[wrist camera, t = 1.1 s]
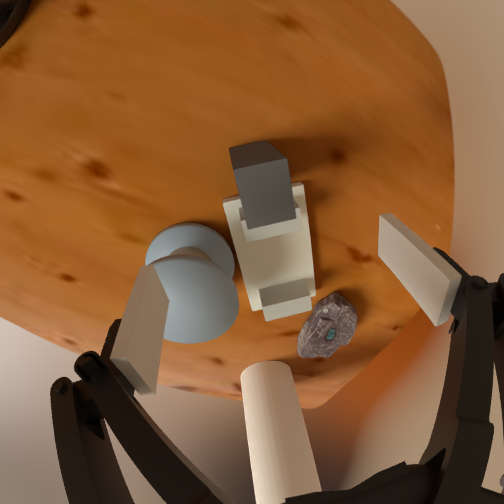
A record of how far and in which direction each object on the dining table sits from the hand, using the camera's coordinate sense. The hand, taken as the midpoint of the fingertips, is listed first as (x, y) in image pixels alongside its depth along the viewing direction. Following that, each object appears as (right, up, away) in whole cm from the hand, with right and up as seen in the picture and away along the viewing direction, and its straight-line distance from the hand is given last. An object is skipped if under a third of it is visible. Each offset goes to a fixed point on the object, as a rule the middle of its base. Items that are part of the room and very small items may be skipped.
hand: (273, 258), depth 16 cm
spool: (-9, -1, +19) cm, 21 cm away
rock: (+10, -10, +28) cm, 32 cm away
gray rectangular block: (-1, +10, +14) cm, 17 cm away
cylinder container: (+1, -22, +33) cm, 40 cm away
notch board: (+2, +1, +20) cm, 20 cm away
